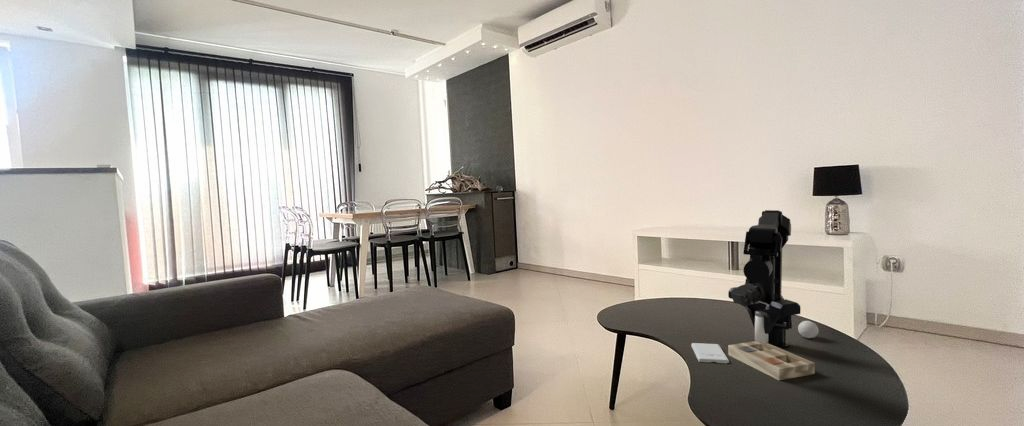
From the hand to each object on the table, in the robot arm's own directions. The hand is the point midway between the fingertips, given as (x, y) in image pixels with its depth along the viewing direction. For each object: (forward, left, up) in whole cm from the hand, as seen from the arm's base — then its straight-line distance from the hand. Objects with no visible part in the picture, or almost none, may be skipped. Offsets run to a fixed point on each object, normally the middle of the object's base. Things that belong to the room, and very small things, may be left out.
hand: (761, 331), depth 118 cm
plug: (0, 0, -3) cm, 3 cm away
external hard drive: (+4, -16, -13) cm, 21 cm away
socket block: (-7, -5, -12) cm, 15 cm away
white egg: (-36, -18, -12) cm, 42 cm away
